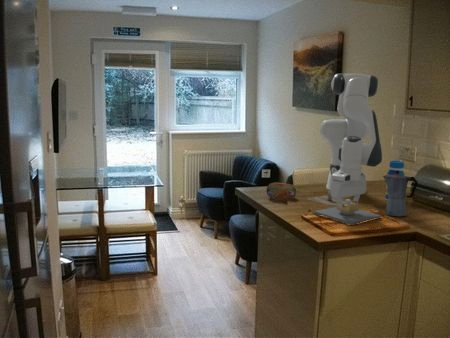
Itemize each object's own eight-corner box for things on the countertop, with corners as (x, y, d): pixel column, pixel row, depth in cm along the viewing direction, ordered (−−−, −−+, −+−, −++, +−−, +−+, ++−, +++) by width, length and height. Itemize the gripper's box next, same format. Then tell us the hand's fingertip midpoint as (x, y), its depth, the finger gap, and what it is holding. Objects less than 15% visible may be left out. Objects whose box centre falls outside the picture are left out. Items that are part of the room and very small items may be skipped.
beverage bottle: (403, 202, 220) (407, 163, 216) (385, 201, 221) (389, 162, 218) (400, 199, 228) (404, 160, 225) (383, 197, 230) (386, 159, 226)
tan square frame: (346, 207, 196) (346, 200, 196) (358, 210, 191) (359, 203, 190) (336, 209, 192) (336, 202, 192) (348, 212, 187) (349, 205, 186)
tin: (265, 198, 222) (266, 181, 221) (268, 196, 225) (268, 180, 223) (294, 202, 215) (295, 185, 214) (296, 201, 218) (297, 184, 217)
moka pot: (383, 209, 205) (387, 167, 202) (417, 216, 196) (422, 171, 192) (375, 213, 198) (379, 169, 195) (411, 220, 189) (415, 174, 185)
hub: (343, 208, 206) (344, 192, 204) (380, 218, 190) (382, 201, 189) (313, 214, 194) (315, 197, 193) (351, 226, 178) (352, 208, 177)
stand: (327, 197, 226) (328, 186, 225) (353, 204, 213) (354, 192, 212) (305, 201, 216) (306, 189, 215) (331, 209, 204) (332, 196, 203)
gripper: (359, 171, 197) (356, 201, 200) (328, 175, 185) (326, 207, 188) (371, 173, 192) (368, 204, 195) (341, 178, 180) (338, 210, 183)
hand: (347, 206), depth 191 cm, fingers open, 8 cm apart
